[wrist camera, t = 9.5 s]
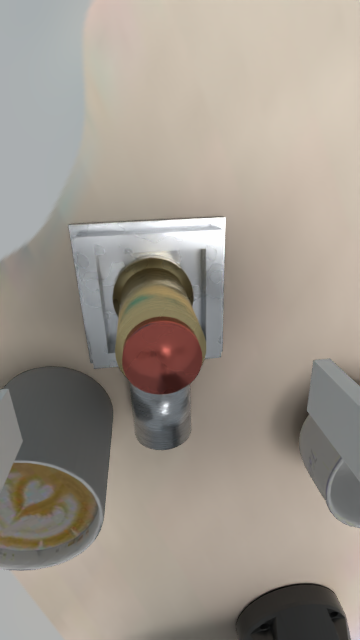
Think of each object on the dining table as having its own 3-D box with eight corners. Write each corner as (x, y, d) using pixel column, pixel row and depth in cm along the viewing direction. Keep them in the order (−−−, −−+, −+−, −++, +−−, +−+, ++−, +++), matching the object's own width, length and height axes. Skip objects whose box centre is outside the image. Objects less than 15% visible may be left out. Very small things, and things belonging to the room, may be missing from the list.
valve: (192, 326, 27) (221, 403, 18) (118, 333, 27) (109, 415, 18) (190, 253, 25) (222, 300, 16) (108, 258, 24) (93, 310, 15)
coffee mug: (92, 353, 28) (72, 440, 19) (126, 441, 32) (123, 547, 23) (-67, 394, 28) (-165, 502, 19) (-12, 477, 32) (-70, 599, 23)
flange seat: (219, 404, 32) (233, 441, 27) (100, 417, 31) (94, 457, 26) (223, 216, 25) (242, 226, 20) (69, 224, 24) (55, 235, 19)
